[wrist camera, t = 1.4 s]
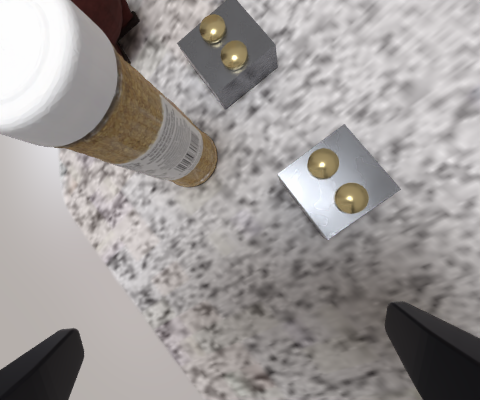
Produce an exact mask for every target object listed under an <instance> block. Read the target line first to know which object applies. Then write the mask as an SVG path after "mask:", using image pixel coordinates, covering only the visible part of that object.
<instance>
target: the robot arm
mask: <svg viewBox="0 0 480 400" xmlns="http://www.w3.org/2000/svg"><path fill="white" fill-rule="evenodd" d="M385 329H386V332H387V335H388V337H389V338H390V340H391V342H392V344H393V346H394V348H395V350H396V352H397V354H398V355H399V357H400V359H401V361H402V363H403V365H404V367H405V369H406V371H407V372H408V374H409V376H410V378H411V380H412V382H413V383H414V385H415V387H416V389H417V390H418V392H419V394H420V395H421V397H422V398H423V400H480V338H478V337H476V336H474V335H472V334H470V333H467V332H465V331H463V330H461V329H459V328H457V327H455V326H453V325H451V324H449V323H447V322H445V321H443V320H441V319H439V318H437V317H435V316H433V315H431V314H429V313H427V312H425V311H422V310H420V309H418V308H416V307H414V306H412V305H410V304H408V303H406V302H403V301H400V302H391V303H389V304H388V307H387V314H386V320H385ZM83 359H84V349H83V345H82V341H81V338H80V334H79V331H78V330H77V329H74V328H72V329H62V330H59V331H57V332H56V333H55V334H53V335H52V336H50V337H49V338H47V339H46V340H44V341H43V342H41V343H40V344H38V345H37V346H35V347H34V348H32V349H31V350H30V351H28V352H26V353H25V354H23V355H22V356H20V357H19V358H18V359H16V360H15V361H13V362H12V363H10V364H9V365H7V366H6V367H4V368H3V369H1V370H0V400H68V399H69V396H70V394H71V391H72V388H73V386H74V383H75V381H76V378H77V375H78V373H79V370H80V367H81V364H82V362H83Z"/></svg>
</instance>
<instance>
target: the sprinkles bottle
mask: <svg viewBox="0 0 480 400" xmlns="http://www.w3.org/2000/svg"><path fill="white" fill-rule="evenodd" d="M0 134H2V135H6V136H9V137H12V138H15V139H18V140H22V141H25V142H29V143H32V144H35V145H39V146H44V147H55V148H66V149H70V150H73V151H76V152H79V153H83V154H86V155H88V156H91V157H95V158H98V159H100V160H102V161H104V162H107V163H110V164H113V165H117V166H120V167H123V168H127V169H130V170H133V171H136V172H140V173H143V174H146V175H149V176H152V177H156V178H159V179H163V180H169V181H172V182H174V183H175V184H177V185H180V186H183V187H193V186H197V185H200V184H201V183H203V182H205V181H206V180H207V179H208V178H209V177H210V176H211V174H212V173H213V171H214V169H215V167H216V163H217V151H216V147H215V145H214V143H213V141H212V139H211V138H210V137H209V136H207V135H206V134H205V133H204V132H201V131H200V130H199V129H198V128H197V127H196V126H195V125H194V124H193V123H192V122H191V120H190V119H189V118H188V117H187V116H186V115H185V114H184V113H183V112H182V111H181V110H180V109H179V108H178V107H177V106H176V105H175V104H174V103H173V102H172V101H171V100H169V99H168V98H166V97H165V96H164V95H163V94H162V93H161V92H160V91H159V90H157V89H156V88H155V87H154V86H153V85H152V84H151V83H150V82H149V81H147V80H146V79H145V78H144V77H143V76H142V75H141V74H140V73H139V72H138V71H137V70H136V69H135V68H133V67H132V66H131V65H130V64H129V63H128V62H126V61H125V60H124V59H123V57H122V56H120V55H119V54H118V53H117V51H116V50H115V48H114V46H113V45H112V43H111V42H110V41H109V39H108V38H107V36H106V35H105V34H104V32H103V31H102V30H101V29H100V28H99V27H98V26H97V25H96V24H95V23H94V22H93V21H92V20H91V19H90V18H89V17H88V16H87V15H86V14H84V13H83V12H82V11H81V10H80V9H79V8H78V7H77V6H76V5H75V4H74V3H73V2H72V1H71V0H0Z"/></svg>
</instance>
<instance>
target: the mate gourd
mask: <svg viewBox="0 0 480 400" xmlns="http://www.w3.org/2000/svg"><path fill="white" fill-rule="evenodd" d="M71 1H72V2H73V3H74V4H75V5H76V6H77V7H78V8H79V9H80V10H81V11H82V12H83V13H84V14H86V15H87V16H88V17H89V18H90V19H91V20H92V21H93V22H94V23H95V24H96V25H97V26H98V27H99V28H100V29H101V30H102V31H103V32H104V34H105V35H106V36H107V38H108V39H109V41H110V42H111V43H112V45H113V46H114V48H115V50H116V51H117V53H118V54H119V55H120V56H122V57H123V59H124V60H125V61H126V62H128V63H129V64H130V63H131V62H130V61H129V59H128V57H127V56H126V54H125V53H124V51H123V50H122V48H121V47H120V45H119V43H118V41H119V39H120V38H121V37H123V36H124V35H125V34H126V33H127V32H128V31H129V30H131V29H132V28H133V27H134V26H135V25H136V24H137V23H138V22H139V19H138V17H137V15H136V13H135V12H134V11H132V12H130V9H129V7H128V4H127V2H126V0H71Z"/></svg>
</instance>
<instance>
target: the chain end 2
mask: <svg viewBox="0 0 480 400" xmlns="http://www.w3.org/2000/svg"><path fill="white" fill-rule="evenodd" d="M278 177H279V180H280V181H281V183H282V184H283V185H284V187H285V188H286V189H287V191H288V192H289V193H290V194H291V196H292V197H293V198H294V200H295V201H296V202H297V204H298V205H299V206H300V208H301V209H302V210H303V211H304V213H305V214H306V215H307V217H308V218H309V219H310V221H311V222H312V223H313V224H314V226H315V227H316V228H317V230H318V231H319V232H320V234H321V235H322V236H323V237H324V238H326V239H330V238H331V237H333V236H334V235H336V234H337V233H338V232H340V231H341V230H343V229H344V228H346V227H347V226H349V225H350V224H351V223H353V222H354V221H356V220H357V219H359V218H360V217H362V216H363V215H364V214H366V213H367V212H369V211H370V210H372V209H373V208H375V207H376V206H377V205H379V204H380V203H382V202H383V201H385V200H386V199H388V198H389V197H390V196H392V195H393V194H395V193H396V192H398V191H399V190H401V189H400V188H399V187H398V185H397V184H396V183H395V182H394V181H393V180H392V178H391V177H390V176H389V175H388V174H387V173H386V172H385V170H384V169H383V168H382V167H381V166H380V165H379V164H378V162H377V161H376V160H375V159H374V158H373V157H372V155H371V154H370V153H369V152H368V151H367V150H366V149H365V147H364V146H363V145H362V144H361V143H360V142H359V140H358V139H357V138H356V137H355V136H354V135H353V134H352V132H351V131H350V130H349V129H348V128H347V127H346V126H345V124H344V125H343V126H341V127H340V128H339V129H337V130H336V131H335V132H333V133H332V134H331V135H329V136H328V137H327V138H325V139H324V140H323V141H321V142H320V143H319V144H317V145H316V146H315V147H313V148H312V149H311V150H309V151H308V152H307V153H305V154H304V155H303V156H301V157H300V158H299V159H297V160H296V161H294V162H293V163H292V164H290V165H289V166H288V167H286V168H285V169H284V170H282V171H281V172H280V173H278Z"/></svg>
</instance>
